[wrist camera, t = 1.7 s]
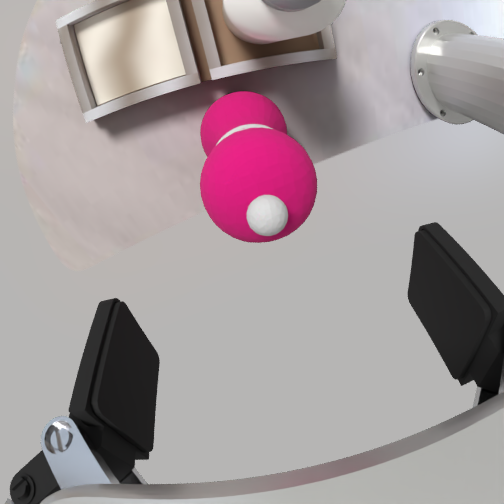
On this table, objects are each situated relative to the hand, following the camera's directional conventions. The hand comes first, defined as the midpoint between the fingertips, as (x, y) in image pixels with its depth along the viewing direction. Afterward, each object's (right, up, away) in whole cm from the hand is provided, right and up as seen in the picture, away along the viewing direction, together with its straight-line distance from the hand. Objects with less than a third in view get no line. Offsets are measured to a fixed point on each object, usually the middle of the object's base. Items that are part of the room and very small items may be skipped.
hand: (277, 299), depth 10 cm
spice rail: (-6, +22, +14) cm, 26 cm away
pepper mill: (-2, +14, +20) cm, 24 cm away
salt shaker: (0, +22, +12) cm, 25 cm away
